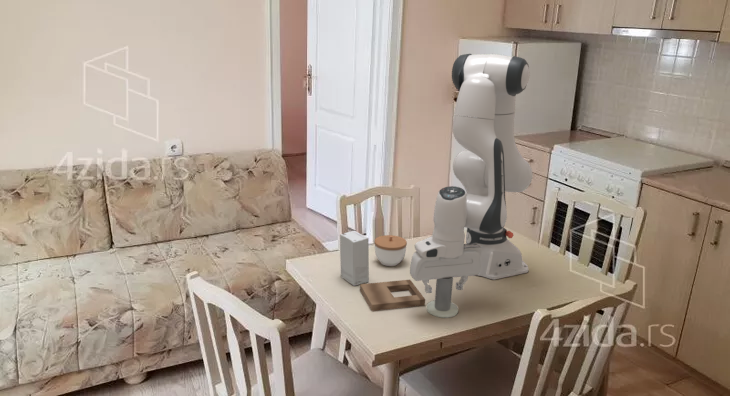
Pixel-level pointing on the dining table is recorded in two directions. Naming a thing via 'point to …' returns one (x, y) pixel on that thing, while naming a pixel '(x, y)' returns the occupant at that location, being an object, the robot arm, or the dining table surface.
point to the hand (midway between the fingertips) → (443, 290)
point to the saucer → (442, 314)
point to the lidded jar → (390, 249)
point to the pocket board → (383, 299)
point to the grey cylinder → (443, 294)
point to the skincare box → (354, 257)
